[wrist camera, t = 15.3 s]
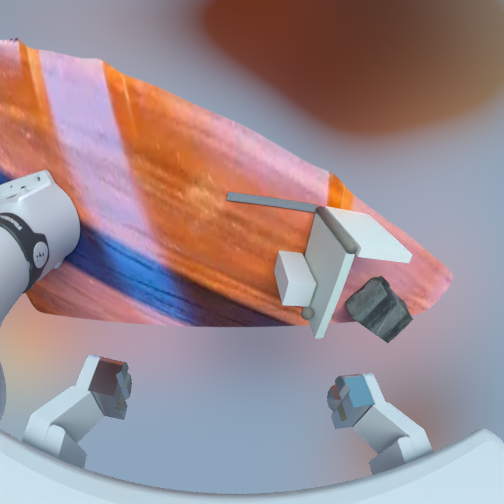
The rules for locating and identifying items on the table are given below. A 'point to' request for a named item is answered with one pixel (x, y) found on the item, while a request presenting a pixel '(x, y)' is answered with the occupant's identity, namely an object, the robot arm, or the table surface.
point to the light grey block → (294, 279)
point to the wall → (345, 228)
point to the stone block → (379, 309)
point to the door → (326, 269)
